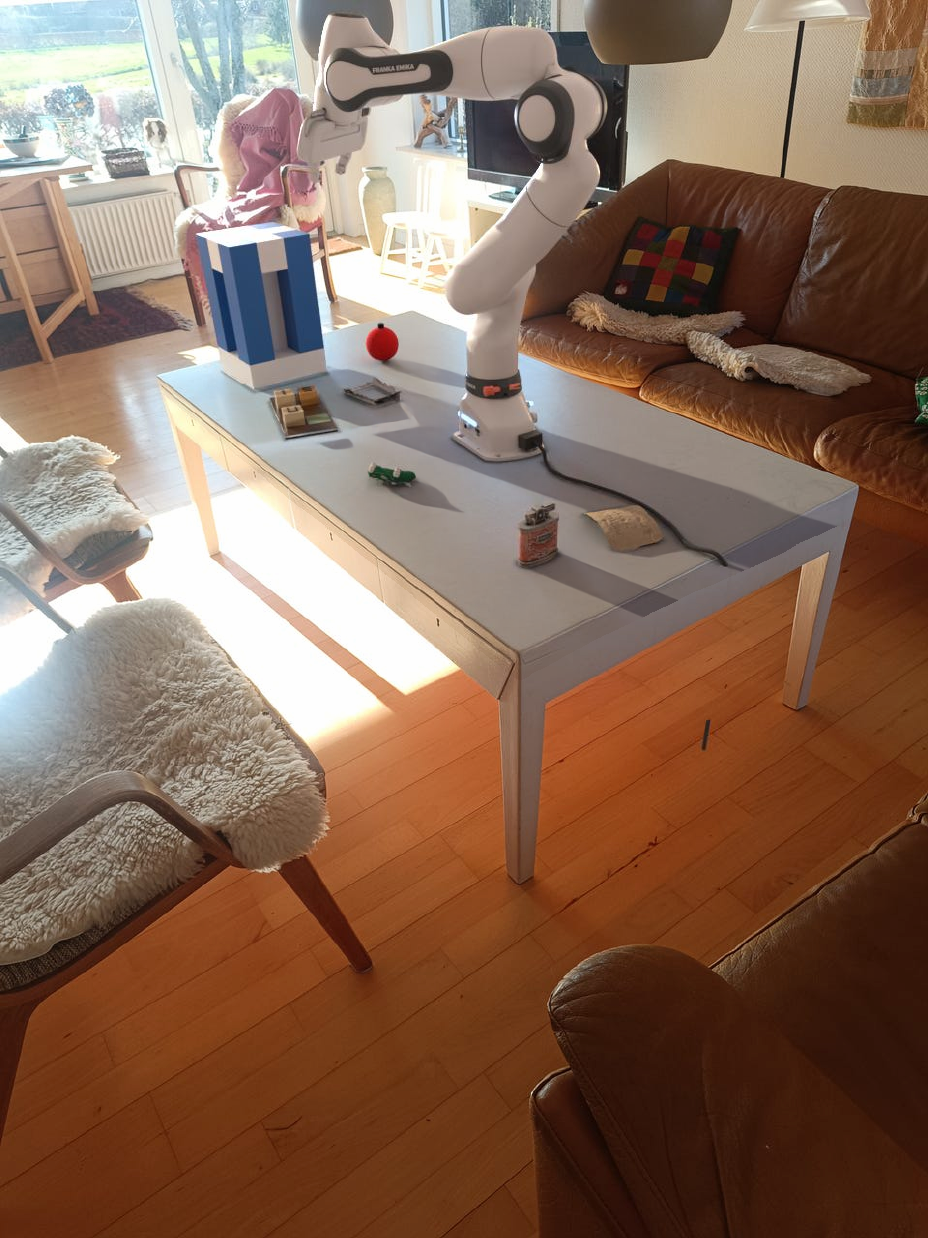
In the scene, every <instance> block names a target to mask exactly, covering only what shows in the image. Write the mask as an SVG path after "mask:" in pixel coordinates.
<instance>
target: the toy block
mask: <svg viewBox="0 0 928 1238" xmlns="http://www.w3.org/2000/svg"><path fill="white" fill-rule="evenodd" d="M195 237H196V243H197V247H198V248H197V249H198V253H199V257H200V263H201V268H202V272H203V274H202V275H203V278H204V283H205V288H206V294H207V297H208V304H209V309H210V314H211V319H212V324H213V329H214V335H215V340H216V344H217V349H218V350H217V351H218V354H219V355H218V356H219V360H220V365H221V370H222V372H223V374H225V375H227V376H229V377H230V378H232V379H233V380H235V381H236V382H238V383H239V384H240V385H247V386H248V387H250V388H251V389H253V390H256V389H260V388H264V387H268V386H272V385H276V384H280V383H284V382H288V381H293V380H296V379H300V378H305V377H308V376H312V375H315V374H323V373H327V372H328V369H327V360H326V353H325V346H324V338H323V330H322V321H321V314H320V306H319V298H318V289H317V282H316V275H315V266H314V259H313V250H312V243H311V234H310V233H309V232H305V231H302V230H299V229H297V228H294V227H290V226H287V225H284V224H280V223H278V222H274V221H270V222H269V221H268V222H264V223H257V224H251V225H244V226H237V227H231V228H224V229H219V230H212V231H206V232H199V233H195Z"/></svg>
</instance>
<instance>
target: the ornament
mask: <svg viewBox="0 0 928 1238" xmlns="http://www.w3.org/2000/svg"><path fill="white" fill-rule="evenodd" d="M399 343H400V342H399V339H398V335H397V334H396V333H395V331H394V330H392V329H391V328H390V327H387V326H385V323H383V322H379V323H377V325H376V327H374V328H373V329H371V331H369V333H368V335H367V336H366V339H365V347H366V350H367V353H368V354H369V355H370V357H371V358H373V359H374V360H375V361H379V362H386V361H389V360H391V359H393V358H394V357H395V356H396V354H397V352H398V351H399V346H400V344H399Z"/></svg>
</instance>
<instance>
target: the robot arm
mask: <svg viewBox="0 0 928 1238" xmlns="http://www.w3.org/2000/svg"><path fill="white" fill-rule="evenodd" d="M556 48H557V47H556V44H555V41H554V39H553V37H552V36H551V34H549V32H548V31H546V30H545V29H543V28H540V27H535V26H526V25H499V26H491V27H485V28H479V29H476V30H473V31H468V32H465V33H464V34H460V35H458V36H455V37H453V38H450V39H448V40H445V41H442V42H440V43H437V44H435V45H432V46H428V47H426V48H424V49H420V50H416V51H411V52H406V53H400V52H399V51H398V50H396V49H395V48H392V47H391V46H390V45H389V44H387V43H386V42H385V40H383V39H382V38H381V37H380V35H378V34H377V33H376V32H375V30H374V29H373V28H372V25H371V23H370V21H369V19H368V17H367V16H366V15H364V14H362V13H359V12H355V11H344V10H343V11H342V10H341V11H340V10H339V11H332V12H331V13H329V14H328V15H327V17H326V19H325V22H324V24H323V29H322V33H321V39H320V46H319V53H318V63H319V73H318V77H317V79H316V83H315V92H314V101H313V102H314V103H313V110H310V111H309V113H308V115H306V117H304V120H303V121H302V123H301V126H300V130H299V135H298V141H297V146H296V155H297V158H298V159H299V160H300V161H303V162H305V163H306V164H307V165H308V169H309V172H310V174H309V180H310V182H312V183H314V184H318V183H320V182H321V181H322V175H323V173H321V172H320V168H319V167H321V163H322V162H323V161H327V160H330V159H334V158H337V157H339V159H338V162H337V163H335V170H334V171H335V173H336V174H338V175H340V176H343V175H345V174H346V173H347V166H348V165H349V163H350V160H351V158H352V154H353V153H354V152H359V151H361V150H362V149H363V147H364V145H365V142H366V139H367V133H368V126H369V116H370V115H371V112H372V108H374V107H381V106H385V105H390V104H394V103H396V102H398V101H399V100H401V99H402V98H403V97H404V96H405V95H406V96H407V95H408V96H409V95H433V96H441V97H448V98H455V99H463V100H470V101H483V102H484V101H485V102H493V101H494V102H495V101H503V100H504V101H505V100H517V102H516V105H515V109H514V125H515V128H516V131H517V134H518V136H519V139H521V142H522V143H523V145H525V147H526V148H527V149H528V151H529V153H530V155H531V157H532V159H533V160H534V161H535V162H537V163H539V164H540V165H539V167H538V169H536V172H534V174H533V175H532V177H531V178H530V180H529V181H528V182H527V183H526V184H525V186H524V187H523V188H522V190H521V191H520V193H519V194H518V195H517V197H516V198H515V199H514V201H513V202H512V203H511V204H510V206H509V207H508V208H507V210H506V211H505V212H504V213H503V215H502V216H501V217H500V218H499V219H498V220H497V221H496V222H495V223H494V224H493V225H492V226H491V227H490V228H489V229H488V230H487V231H486V232H485V234H483V235H482V237H480V238H479V240H477V242H476V243H474V245H473V246H472V247H471V248H470V249H469V251H467V253H466V254H465V255H464V256H463V257H461V259H460V260H459V261H458V262H457V263H456V264H455V265H453V267H452V268H451V269H450V270H449V271H448V272H447V274H446V275H445V278H444V279H445V280H444V289H443V290H444V294H445V298H446V300H447V302H448V304H449V305H450V307H451V308H452V309H453V310H454V311H456V312H457V313H458V314H461V315H465V316H471V315H472V316H473V315H474V316H473V318H472V322H471V324H470V326H469V327H468V330H467V333H466V338H465V345H466V347H465V348H466V370H465V376H464V383H465V385H464V386H465V390H466V391H465V394H464V396H463V397H462V398H461V400H460V402H459V411H458V412H457V413H458V414H457V415H458V416H459V419H458V420H459V421H458V422H459V423H458V424H459V425H458V426H459V427H458V428H459V429H458V430H457V431H456V432H454V433H453V440H454V441H456V442H457V443H458V444H460V445H461V446H462V447H464V448H466V449H467V450H468V451H470V452H471V453H473V454H474V455H476V456H477V457H479V458H480V459H482V460H484V461H486V462H509V461H515V460H521V459H526V458H530V457H534V456H537V455H540V454H542V460H543V463H544V465H545V467H546V468H547V470H548V471H549V472H550V473H551V474H553V475H554V476H556V477H558V478H561V479H563V480H565V481H568V482H572V483H576V484H579V485H583V486H586V487H590V488H592V489H595V490H599V491H602V492H605V493H608V494H611V495H613V496H616V497H619V498H621V499H623V500H626V501H628V502H630V503H633V504H635V505H637V506H640V507H642V508H643V509H644V510H645V511H646V512H647V511H648V512H649V513H650V514H652V515H654V516H655V517H656V518H657V519H659V520H660V521H661V522H662V523H663V524H664V525H666V526H667V527H668V528H669V529H670V530H671V531H672V532H673V533H674V535H675V536H676V537H677V538H678V540H679V541H680V542H681V543H682V544H684V545H685V546H686V547H687V548H689V549H691V550H693V551H696V552H701V553H706V554H708V555H711V556H713V557H714V558H716V559H717V560H718V561H719V563H720V565H721V566H722V567H724V568H726V567H728V563H727V561H726V560H725V558H724V557H723V556H722V555H721V554H720V552H718V551H716V550H714V549H711V548H708V547H704V546H699V545H696V544H694V543H692V542H691V541H689V540H688V539H687V538H685V536H684V535H682V533H681V532H680V530H679V529H678V528H677V527H676V526H675V525H674V524H673V523H672V522H671V521H669V520H668V519H667V518H666V517H665V516H664V515H662V514H661V513H660V512H658V511H657V510H656V509H654V508H653V507H651V506H650V505H648V504H646V503H645V502H643V501H641V500H638V499H636V498H634V497H632V496H630V495H628V494H625V493H622V492H621V491H617V490H614V489H611V488H609V487H605V486H603V485H600V484H596V483H593V482H590V481H586V480H583V479H580V478H577V477H572V476H569V475H566V474H564V473H562V472H560V471H558V470H556V469H554V468H553V467H552V466H551V465H550V462H549V460H548V455H547V451H546V448H545V444H544V443H543V439H544V437H543V436H544V435H543V433H542V432H541V431H539V430H537V429H536V427H535V426H534V424H537V423H538V414H537V412H535V411H534V412H531V411H530V407H531V406H534V401H531V400H526V398H525V395H524V391H523V384H522V376H521V371H520V369H519V341H520V339H519V337H520V329H521V323H522V319H523V314H524V310H525V306H526V301H527V297H528V292H529V290H530V287H531V285H532V283H533V281H534V279H535V276H536V273H537V272H536V271H537V264H538V263H540V261H541V260H543V259H544V258H545V257H546V256H547V255H548V253H549V252H550V251H551V250H552V249H553V248H554V246H555V245H556V244H557V243H558V242H559V241H560V240H561V238H562V237H563V236H564V234H565V233H567V231H568V229H570V227H572V225H573V224H574V222H575V221H576V220H577V219H578V217H579V216H580V214H581V213H582V212H583V210H584V209H585V208H586V206H587V204H588V203H589V201H590V199H592V196H593V194H594V192H595V191H596V189H597V187H598V185H599V182H600V179H601V170H600V166H599V164H598V162H597V160H596V158H595V157H594V155H593V154H592V153H591V152H590V150H589V148H588V143H587V142H588V141H589V140H590V139H591V138H593V137H594V136H595V135H596V134H597V133H598V132H599V131H600V129H601V128H602V126H603V124H604V122H605V120H606V117H607V113H608V100H607V96H606V93H605V91H604V89H603V88H602V87H601V85H600V84H599V83H598V82H597V81H595V80H594V79H593V78H591V77H589V76H587V75H586V74H584V73H582V72H581V71H579V70H578V69H576V68H574V67H573V66H572V65H565V66H563V67H561V65H559V63H558V53H557V49H556ZM538 158H540V159H538ZM711 721H712V719H711V718H709V719H706V720H705V725H704V731H703V735H702V736H703V737H702V743H701V751H706V750H707V745H708V738H709V733H710V725H711Z"/></svg>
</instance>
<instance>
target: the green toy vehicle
mask: <svg viewBox="0 0 928 1238" xmlns="http://www.w3.org/2000/svg"><path fill="white" fill-rule="evenodd" d="M367 474H368V477H369V478H372V479H377V480H378V483H380V484H384V482H386V481H390V484H391V485H393V486H397V484H399V483H400V484H401V483H403V484H404V483H409V482H412V481H414V480H415V479H417V476H416V474H415V472H414V471H412V470H402V469H401V468H400V467H399V466H395V468H393V469H392V468H387V467H385V468H384V467H382V466H380V465H377V464H376V462H371V463H370V465H369V467H368V469H367Z"/></svg>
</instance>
